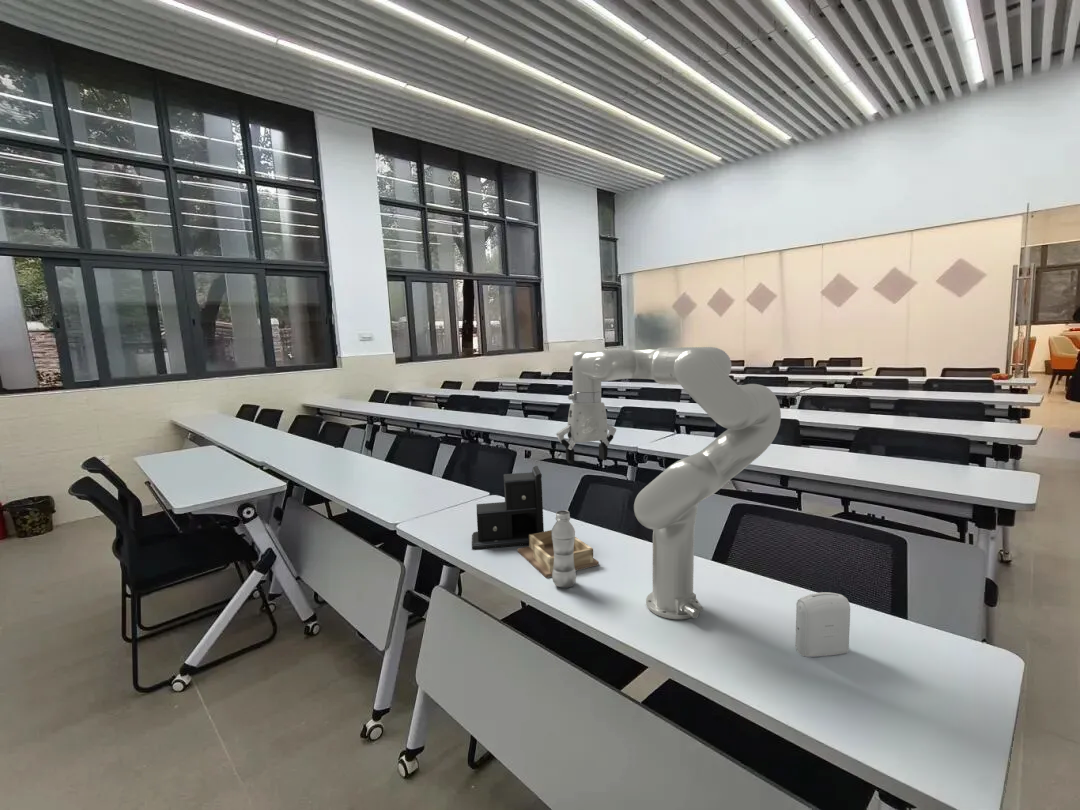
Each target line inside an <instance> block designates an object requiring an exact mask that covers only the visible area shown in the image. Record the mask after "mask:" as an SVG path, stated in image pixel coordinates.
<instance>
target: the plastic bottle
mask: <svg viewBox="0 0 1080 810" xmlns="http://www.w3.org/2000/svg"><path fill="white" fill-rule="evenodd" d="M570 515H571V514H570V511H569V510H564V509H563V510H558V511H556V512H555V523H554V525H553V526H552V528H551V530H552V531H551V535H552V541H553V549H554V566H553V572H552V577H551V578H552V582H553V583H554V586H556V587H558V588H563V589H566V588H571V587H573V586H574V584H575V583H576V580H577V570H575V566H574V556H573V555H574V540H575V537H576V530H575V527H574V526H573V524H572V523H571V521H570V520H571V516H570Z"/></svg>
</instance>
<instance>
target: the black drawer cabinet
mask: <svg viewBox="0 0 1080 810" xmlns="http://www.w3.org/2000/svg"><path fill="white" fill-rule="evenodd" d="M531 470H532V472H531V471H530V472H519V473H518V472H517V473H504V474H503V486H504V488H503V489H504V501H502V502H499V501H498V502H487V503H486V502H485V503H477V504H476V523H477V525H476V526H477V531H475V532H473V533H472V534H471V550H472V549H475V550H484V549H495V548H498V549H499V548H507V547H519V546H529V535H530V534H535V533H540V532H545V530H544V529H545V528H544V527H545V526H544V509H543V508H544V506H543V486H542V485H543V484H542V481H543V480H542V478H543V477H542V473H541V470H540V469H539V466H538V465H535V466H533V467H532V469H531Z"/></svg>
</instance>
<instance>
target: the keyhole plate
mask: <svg viewBox="0 0 1080 810" xmlns="http://www.w3.org/2000/svg"><path fill="white" fill-rule="evenodd" d="M551 531H552V529H550V530H544V532H540V533H535V534H530V535H529V545H527V546H524V547H518V548H517V553H519V555H521V556H522V557H523V558H524V559H525V560H526V561H527V562H528V563H529V564H530V565H532V567H534V568H535V569H536V570H537V571H538V572H539V573H540V574H541V575H542V576H543V577H545V578H546V579H548V578H552V572H553V566H554V549H553V541H552V535H551ZM573 556H574V566H575V570H576V571H579V570H585V569H588V568H591V567H596V566H599V564H600V562H599V561H598V560H597V559H595V557H594V548H593V547H591V546H590V545H588V544H586V543H585V542H584V541H582V540H581V539H579V537H577V536H575V540H574V555H573ZM584 568H585V569H584Z"/></svg>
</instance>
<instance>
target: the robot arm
mask: <svg viewBox="0 0 1080 810" xmlns="http://www.w3.org/2000/svg"><path fill="white" fill-rule="evenodd" d="M731 370H732V360H731V358H730V356H729V355H728V353H726V351H724V350H723V349H720V348H718V347H713V346H701V347H700V346H698V347H697V346H695V347H693V346H692V347H682V346H681V347H657V349H656V348H655V349H613V350H601V351H596V350H578V351H575V352H574V353H573V355H572V391H571V394H568V396H567V398H568V400H569V401H570V400H571V403H570V404H569V409H568V417H567V426H564V428H562V429H560V430H558V431H557V432H556V436H557V438H558V441H559V443H560V444H561V445H562V446H563V447H564V449H565V459H566V462H567V463H568V464H570V465H574V464H575V449H574V446H575V445H576V444H577V443H589V442H596V441H597V442H600V443H599V445H598V458H599V459H600V460H603V461H607V460H608V459H607V457H608V453H609V452H608V446H610V443H611V442H612V440H613V439H614V436H615V434H616V432H617V428H616V427H614V426H612V425H609V424H608V417H607V416H608V415H607V409H606V406H605V403H604V402H602V382H611V381H617V380H626V379H629V380H630V379H633V380H634V379H639V380H641V379H642V380H654V382H655V383H656V384H659V385H669V386H671V385H672V386H673V385H676V386H681V387H682V389H683V390H684V391H685V392H686V394H687V395H689V396H690V398H692V400H693V401H694V402H695V403H696V404H697V405H698V406H699V407H700V408H701V409H702V410H703V411H704V412H705V413H706V414H707V415H708V416H709V418H710V419H712V420H713V421H714V422H715V423H716V424H717V425H719V426H720V427H723V428H725V429H726V430H725V431H723V432H722V433H720V435H718V436H717V437H716V438H715V439H714V440H713V441H712V442H711V443H709V444H708V445H707V446H705V447H704V448H703V449H702V450H700V451H698V452H696V453H694V454H691V455H689V456H686V457H684V458H682V459H680V460H677V461H675V462H674V463H672V464H670V465H669V466H668V467H666V469H664V470H663V471H662V472H661V473H660V474H659V475H657V476H656V477H655V478H654V479H652V481H650V482H649V483H648V484H647V485H646V486H644V488H642V489H641V490H640V491H639V492H638V494H637V495H636V497H635V499H634V504H633V511H634V516H635V517H636V519H637V521H638V522H639V523H640V524H641V525H642V526H644V527H645V528H646V529H649V530H652V531H653V532H652V592H650V593H649V594H648V595H647V596H646V598H645V605H646V608H647V609H648V610H649V611H650V612H651V613H653V614H655V615H656V616H659V617H662V618H665V619H669V620H687V619H691V618H692V619H697V618H698V617H699V615H700V614H699V613H700V612H702V611H703V608H704V607H703V606H702V605H701V604H700V601H699V600H698V599H697V593H696V594H695V593H694V565H695V563H694V562H695V560H694V559H695V556H694V555H695V554H694V553H695V529H696V527H695V526H696V521H697V514H698V507H699V504H700V502H702V501H703V500H705V499H707V498H709V497H711V496H712V495H714V494H716V493H717V492H718V491H720V490H721V489H722V488H723V487H724V486H725V485H726V484H727V483H728V482H730V481H731V480H732V479H733V478H734V477H736V476H737V475H738V474H740V473H741V472H742V471H743V470H745V469H746V468H747V467H748V466H750V464H751V463H753V462H754V461H756V460H757V459H758V458H759V457H761V456H762V454H763V453H764V452H765V451H766V450H767V449H768V448H769V447H770V446H771V444H772V443H773V441H775V438H776V437H777V435H778V432H779V429H780V426H781V421H782V419H781V418H782V416H781V415H782V414H781V413H782V412H781V406H780V403H779V400H778V398H777V396H776V395H775V392H774V391H772V389H770V388H769V387H767V386H765V385H762V384H759V383H758V384H757V383H747V384H743V385H738V384H737V383H736V382H735V380H733V379H732V378H731V377H730V376H729V375H730V373H731ZM566 435H567V440H566V438H565V436H566Z"/></svg>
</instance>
